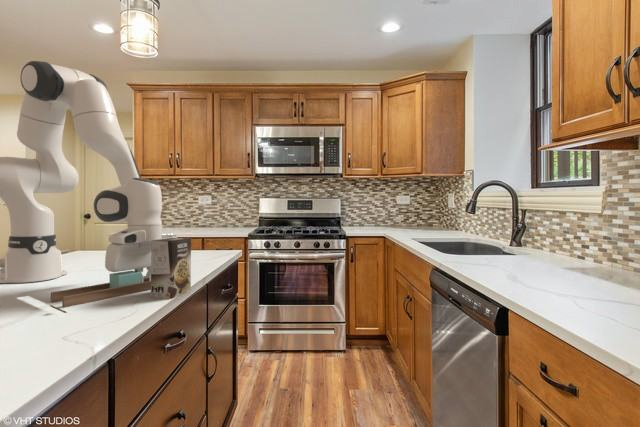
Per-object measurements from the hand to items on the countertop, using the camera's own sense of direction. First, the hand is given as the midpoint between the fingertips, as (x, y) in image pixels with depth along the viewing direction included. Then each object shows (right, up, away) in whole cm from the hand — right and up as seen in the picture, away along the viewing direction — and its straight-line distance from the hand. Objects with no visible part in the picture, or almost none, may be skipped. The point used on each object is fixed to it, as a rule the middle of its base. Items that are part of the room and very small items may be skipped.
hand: (144, 282), depth 101 cm
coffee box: (+10, -3, -6) cm, 12 cm away
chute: (-5, -3, -8) cm, 10 cm away
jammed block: (-3, -1, -5) cm, 6 cm away
